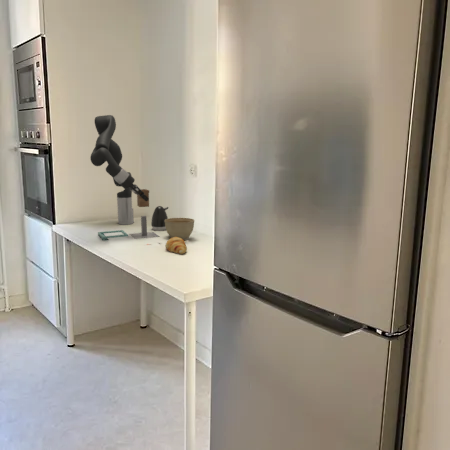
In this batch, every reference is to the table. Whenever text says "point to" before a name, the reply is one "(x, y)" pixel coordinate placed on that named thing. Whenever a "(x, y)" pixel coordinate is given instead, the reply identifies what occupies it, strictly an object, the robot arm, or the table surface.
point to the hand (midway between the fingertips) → (146, 199)
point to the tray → (111, 236)
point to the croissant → (176, 245)
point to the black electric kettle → (159, 218)
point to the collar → (141, 201)
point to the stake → (144, 230)
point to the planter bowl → (179, 227)
